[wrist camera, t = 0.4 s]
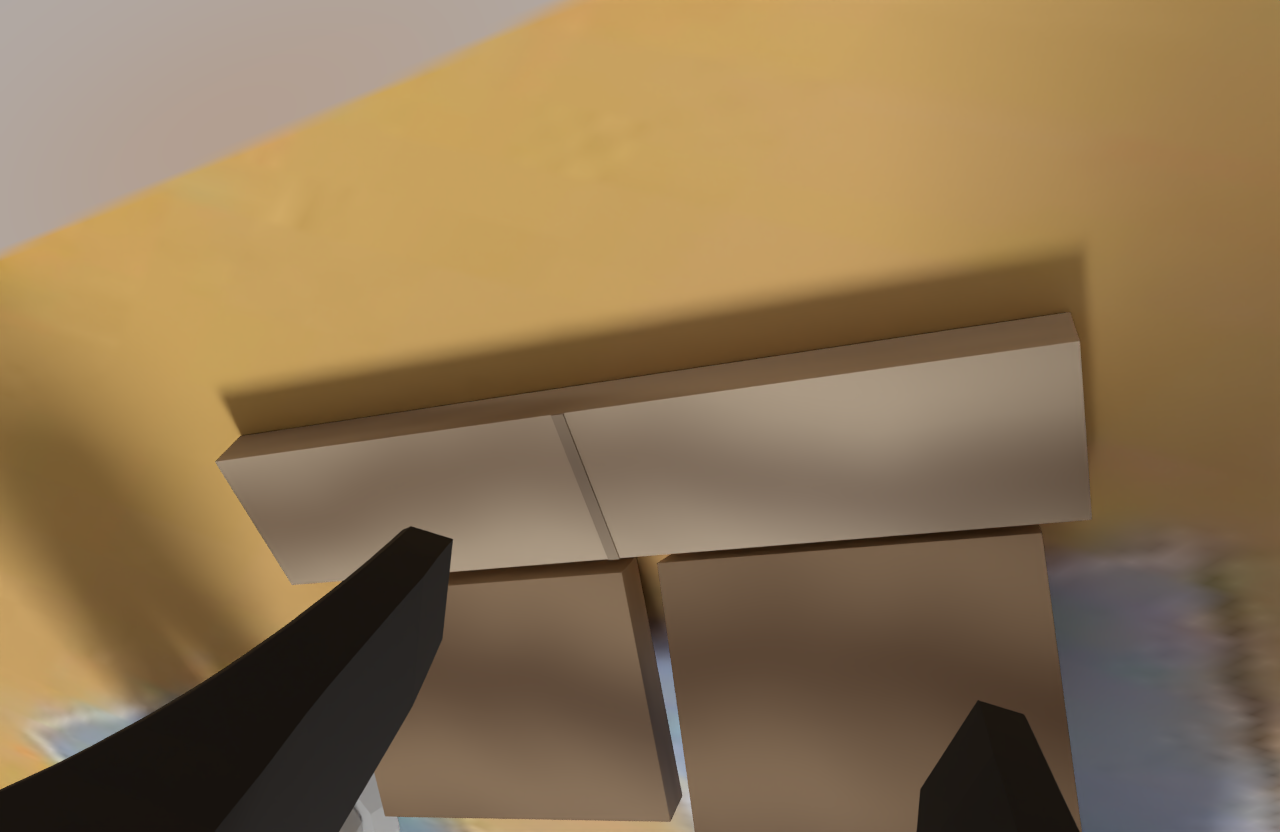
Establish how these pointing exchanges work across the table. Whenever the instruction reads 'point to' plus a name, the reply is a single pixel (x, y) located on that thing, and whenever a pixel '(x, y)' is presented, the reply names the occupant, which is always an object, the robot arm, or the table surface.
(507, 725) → the plank
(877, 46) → the table surface
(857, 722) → the plank
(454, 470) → the laid board
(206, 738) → the robot arm
